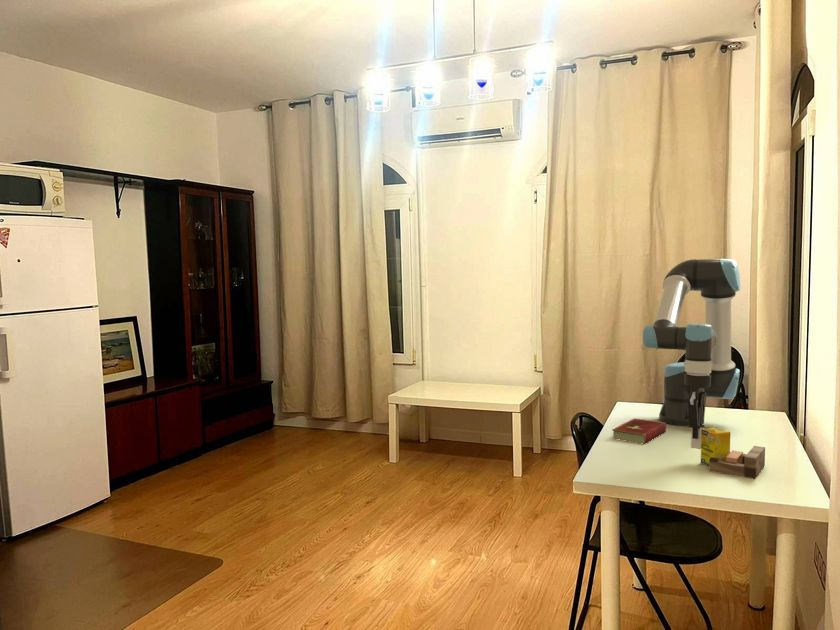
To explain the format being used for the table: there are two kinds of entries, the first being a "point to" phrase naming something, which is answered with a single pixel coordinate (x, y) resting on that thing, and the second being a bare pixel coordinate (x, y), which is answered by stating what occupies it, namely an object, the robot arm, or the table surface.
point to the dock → (749, 468)
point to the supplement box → (714, 444)
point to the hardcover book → (639, 430)
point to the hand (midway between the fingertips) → (696, 447)
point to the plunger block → (735, 457)
